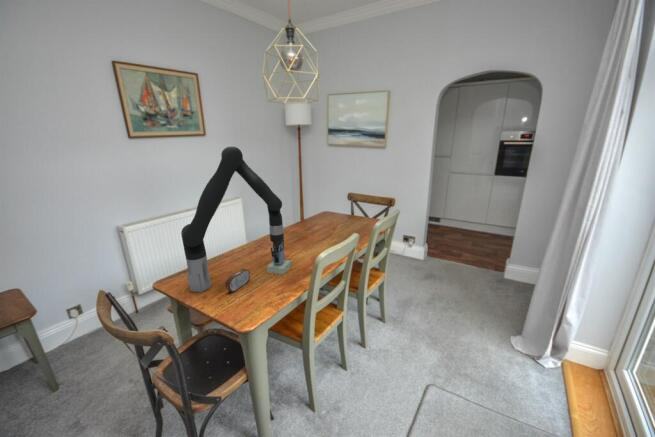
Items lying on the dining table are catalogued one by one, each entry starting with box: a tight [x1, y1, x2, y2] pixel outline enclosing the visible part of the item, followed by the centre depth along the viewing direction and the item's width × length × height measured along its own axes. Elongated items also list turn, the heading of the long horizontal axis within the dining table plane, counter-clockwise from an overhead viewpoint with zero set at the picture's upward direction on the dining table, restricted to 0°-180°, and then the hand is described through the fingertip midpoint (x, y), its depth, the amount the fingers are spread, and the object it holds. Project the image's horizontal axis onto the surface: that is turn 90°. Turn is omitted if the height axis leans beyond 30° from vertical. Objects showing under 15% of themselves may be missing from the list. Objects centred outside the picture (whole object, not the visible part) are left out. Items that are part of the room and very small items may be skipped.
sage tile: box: [266, 259, 292, 275], centre depth 161 cm, size 10×10×4 cm
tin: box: [224, 268, 251, 292], centre depth 142 cm, size 15×3×8 cm, turn 153°
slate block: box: [272, 248, 286, 264], centre depth 159 cm, size 5×5×7 cm
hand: (278, 260), depth 160 cm, fingers closed on slate block, 5 cm apart
